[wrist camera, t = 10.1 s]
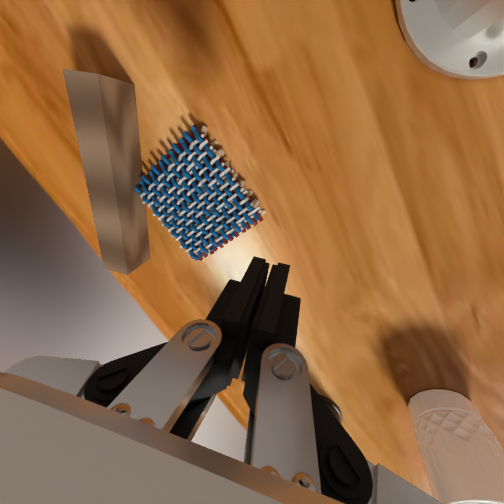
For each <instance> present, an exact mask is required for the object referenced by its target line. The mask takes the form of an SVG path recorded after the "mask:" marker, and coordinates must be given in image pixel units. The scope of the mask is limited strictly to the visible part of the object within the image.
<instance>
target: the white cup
mask: <svg viewBox="0 0 504 504" xmlns="http://www.w3.org/2000/svg"><path fill="white" fill-rule="evenodd" d="M408 409H409V412H410V415H411V418H412V422H413V425H414V428H415V435H416V439H417V442H418V446H419V450H420V453H421V457H422V461H423V464H424V467H425V471H426V474H427V477H428V481H429V484H430V487H431V491H432V494H433V498H435V499H436V500H438V501H439V502H441V503H443V504H504V449H503V447H502V446H501V445H500V443H499V442H498V440H497V438H496V437H495V435H494V434H493V432H492V431H491V430H490V429H489V428H488V426H487V425H486V424H485V423H484V421H483V419H482V418H481V416H480V414H479V413H478V411H477V410H476V408H475V407H474V405H473V404H472V402H471V401H470V400H469V399H467V398H466V397H465V396H463V395H462V394H460V393H457V392H453V391H450V390H443V389H431V390H426V391H422V392H419V393H417V394H416V395H414V396H413V397H412V398H410V401H409V404H408Z"/></svg>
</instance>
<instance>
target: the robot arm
mask: <svg viewBox="0 0 504 504" xmlns="http://www.w3.org/2000/svg"><path fill="white" fill-rule="evenodd" d="M395 3H396V9H397V15H398V21H399V25H400V28H401V30H402V33H403V35H404V38H405V40H406V43H407V44H408V46H409V47H410V48H411V50H412V51H413V53H414V54H415V55H416V57H417V58H418V59H419V60H420V61H422V62H423V63H424V64H425V65H427V66H428V67H429V68H430V69H432V70H434V71H436V72H439V73H441V74H443V75H446V76H448V77H454V78H460V79H466V80H472V79H490V78H494V77H498V76H502V75H504V0H415V1H414V2H410V1H409V0H395ZM470 59H472V60H473V62H474V63H473V66H472V67H471V68H470V66H469V61H470ZM265 262H266V259H262V258H258V257H253V259H252V261H251V263H250V265H249V267H248V269H247V271H246V273H245V275H244V277H243V279H242V280H241V282H239V281H235V280H229V281H228V283H227V285H226V286H225V288H224V290H223V291H222V293H221V295H220V296H219V298H218V300H217V301H216V303H215V305H214V306H213V308H212V310H211V311H210V313H209V315H208V316H207V318H206V320H201V319H199V320H194V321H191V322H189V323H187V324H185V325H184V326H183V327H182V328H181V329H180V330H179V331H178V332H177V333H176V334H175V335H174V336H173V337H172V338H171V339H170V340H169V342H166V343H163V344H160V345H157V346H154V347H151V348H148V349H145V350H142V351H139V352H137V353H134V354H131V355H128V356H125V357H122V358H119V359H116V360H113V361H111V362H108V363H106V364H104V365H102V364H100V363H99V361H92V360H81V359H70V358H58V357H47V356H35V357H30V358H27V359H24V360H22V361H20V362H18V363H16V364H14V365H13V366H11V367H10V368H9V369H8V370H7V371H5V372H4V373H2V372H0V504H443V503H441V502H439V501H438V500H436V499H435V498H433V497H431V496H430V495H428V494H427V493H425V492H423V491H422V490H420V489H419V488H417V487H416V486H414V485H412V484H411V483H409V482H408V481H406V480H404V479H403V478H401V477H400V476H398V475H396V474H395V473H393V472H392V471H390V470H388V469H387V468H385V467H384V466H382V465H381V464H379V463H378V464H377V465H374V464H372V463H371V462H369V461H368V460H366V459H365V457H364V455H363V454H362V452H361V450H360V449H359V448H358V446H357V445H356V444H355V442H354V441H353V440H352V438H351V437H350V436H349V434H348V433H347V432H346V430H345V429H344V428H343V426H342V425H341V424H340V422H339V421H338V420H337V418H336V417H335V416H334V414H333V413H332V412H331V410H330V409H329V408H328V407H327V405H326V404H325V403H324V401H323V400H322V399H321V397H320V396H319V395H318V393H317V392H316V391H315V389H314V388H313V387H312V385H311V384H310V383H309V375H308V367H307V363H306V360H305V358H304V357H303V355H302V354H301V353H300V352H299V351H298V350H297V349H296V348H295V344H296V336H297V327H298V318H299V310H300V301H301V299H300V298H298V297H294V296H291V295H287V294H284V291H285V286H286V282H287V277H288V273H289V268H290V265H287V264H282V263H278V265H273V266H272V269H271V272H270V274H269V277H268V280H267V283H266V279H267V274H268V269H269V263H265ZM265 284H266V286H265ZM246 353H247V354H246ZM245 356H246V359H245ZM244 359H245V365H244V370H243V376H242V381H244V382H245V387H244V392H243V396H244V398H245V400H246V402H247V404H248V406H249V408H250V410H249V416H248V425H247V435H246V444H245V453H244V462H241V461H238V460H236V459H233V458H231V457H228V456H226V455H223V454H221V453H218V452H216V451H213V450H211V449H208V448H206V447H203V446H201V445H198V444H196V443H193V442H191V440H192V438H193V437H194V435H195V433H196V431H197V429H198V428H199V426H200V424H201V422H202V420H203V419H204V417H205V415H206V413H207V412H208V410H209V408H210V406H211V404H212V403H213V401H214V399H215V396H216V394H217V393H218V392H220V391H222V390H224V389H226V387H227V385H228V386H230V384H231V381H232V379H233V378H235V379H238V377H239V374H240V371H241V368H242V365H243V362H244Z"/></svg>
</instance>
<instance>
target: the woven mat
mask: <svg viewBox="0 0 504 504" xmlns="http://www.w3.org/2000/svg"><path fill="white" fill-rule="evenodd" d="M191 129H192V131H193V133H194V135H195V136H194V135H193V134H192V132H191V130H190V131H189V132H187V131H184V132H183V135H184V137H182V138H181V139H180V140H179V141H180V142H181V144H182V146H183V147H182V146H181V145H180V143H177V144H175V143H173V144H172V145H171V146H172V148H173V149H171V150H170V151H169V152H168V154H167V156H165V155H162V156H161V158H162V160H160V161H159V162H158V164H157V165H156V167H155V166H154V165H152V167H151V169H152V170H151V171H150V172H149V174H147V175H143V176H142V180H141V181H140V182H139V183H140V185H141V187H142V188H141V189H140V188H138V186H137V185H135V191H136V192H138V193H139V194H140V197H141V199H142V197H143V202H142V203H143V204H145V203H147V204H148V207H150V206H152V208H151V209H152V210H153V211H154V214H153V216H155V215H157V216H159V219H158V220H161V219H162V221H163V223H162V226H166V227H167V228H169V230H168V232H170V231H171V233H172V235H170V236H171V237H173V236H175V237H176V239H175V240H176V241H178V240H180V243H181V246H180V248H182V247H183V248H185V249H187V250H186V251H185V252H188V251H189V255H188V256H189V257H190V256H191V258H193V259H195V260H196V261H197V260H200V261H201V260H202V259H203V258H202V257H203V256H204V257H207V256H208V255H207V254H208V253H209V252H210V254H214V251H216V250H217V247H218V246H220V247H221V248H222V247H224V246H223V245H222V244H223V243H224V244H227V243H228V240H230V241H232V240H233V239H234V238H233V237H234V236H235V237H238V236H239V234H238V233H240V232H241V231H242V232H243V233H244V232H246V229H245V228H247V230H248V229H250V228H251V226H250V225H252V224H254V226H255V225H257V220H259V221H260V222H261V221H262V220H263V218H262V217H261V216H263V215H264V214H265V213H266V210H265V209H262V210H261V209H260V208H259V206H258V205H260V203H259V201H258V200H257V199H254V200H253V201H252V200H251V199H250V198H249V197H250V196H251V195H252V194H253V192H252V190H251V189H250V190H248V191H247V190H246V191H244V190H245V189H244V186H245V183H246V182H245V181H242V180H240V181H239V182H237V181H236V180H235V179H236V178H237V174H236V173H235V171H234V170H231V169H230V168H229V166H230V164H229V163H228V162H227V161H226V162H225V163H224V162H223V160H222V158H221V157H222V156H223V155H224V154H225V153H224V151H223V149H219V150H218V151H216V149H214V147H215V146H216V144H217V143H218V142H217V141H216V139H215V140H214V141H212V142H211V143H209V142H208V140H207V139H206V138H205V136H206V133H207V130H208V128H207V127H205V126H204V125H203V127H202V128H201V130H199V128H198V127H197V126H196V125H193V126H192V127H191ZM188 141H189V142H188ZM199 142H200V143H201V144H199ZM203 146H204V148H203ZM193 148H194V149H193ZM207 154H208V155H207ZM166 157H167V158H166ZM202 158H203V160H201V159H202ZM215 163H216V166H217V167H216V166H215ZM208 169H209V170H210V171H212V172H211V173H210V171H209V170H208ZM229 170H231V171H229ZM203 174H204V175H203ZM224 175H225V176H224ZM177 182H178V183H177ZM156 187H157V189H156ZM223 188H224V190H225V191H224V190H223ZM146 194H147V195H146ZM219 196H220V197H219ZM243 203H245V205H246V206H244V204H243ZM187 206H189V207H187ZM205 206H206V207H205ZM257 206H258V207H257ZM256 207H257V208H256ZM220 208H221V209H220ZM166 209H167V210H168V211H166ZM258 209H260V210H259V211H258ZM249 211H250V212H249ZM231 212H232V213H233V214H232V213H231ZM243 216H244V217H243ZM231 224H232V225H231ZM236 224H237V225H236ZM249 224H250V225H249ZM196 226H197V228H196ZM175 230H177V231H176V232H175ZM237 232H238V233H237ZM204 246H206V247H204ZM213 250H214V251H213Z"/></svg>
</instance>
